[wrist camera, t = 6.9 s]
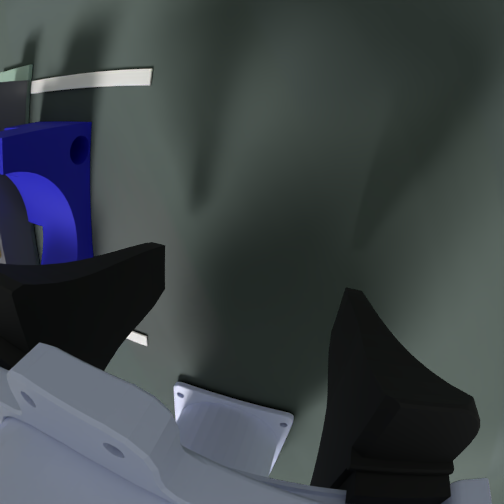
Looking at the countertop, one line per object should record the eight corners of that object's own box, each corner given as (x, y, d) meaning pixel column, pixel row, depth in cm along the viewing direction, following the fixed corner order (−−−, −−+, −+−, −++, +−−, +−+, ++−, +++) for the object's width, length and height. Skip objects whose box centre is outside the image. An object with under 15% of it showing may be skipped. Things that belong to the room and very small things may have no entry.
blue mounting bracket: (42, 121, 15) (-39, 138, 10) (94, 121, 14) (2, 137, 9) (55, 292, 20) (-1, 336, 15) (101, 312, 19) (44, 367, 14)
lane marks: (147, 345, 19) (147, 346, 19) (49, 303, 21) (48, 304, 20) (152, 69, 12) (151, 68, 12) (32, 81, 14) (31, 81, 14)
